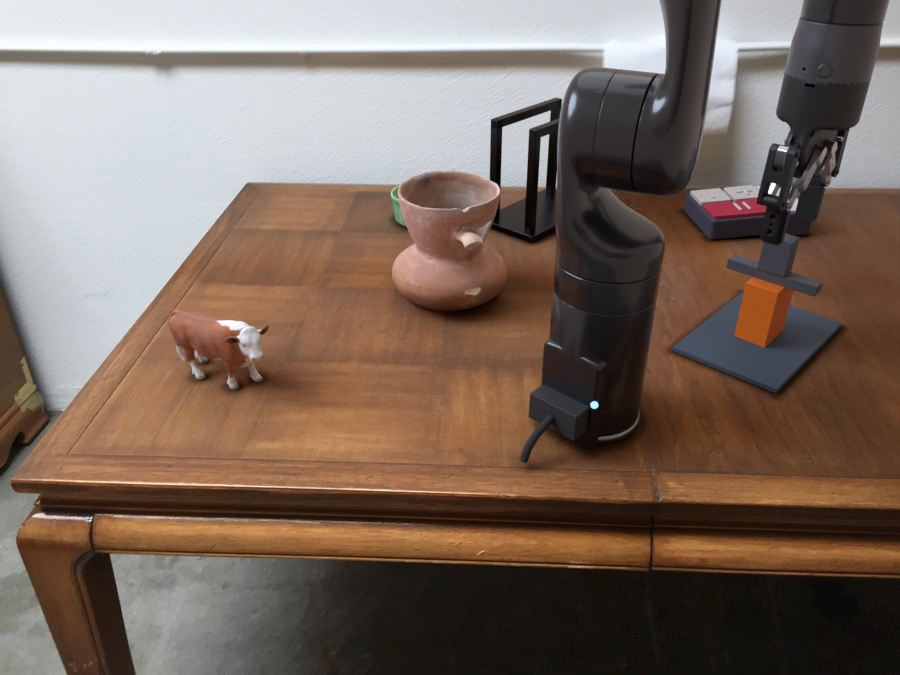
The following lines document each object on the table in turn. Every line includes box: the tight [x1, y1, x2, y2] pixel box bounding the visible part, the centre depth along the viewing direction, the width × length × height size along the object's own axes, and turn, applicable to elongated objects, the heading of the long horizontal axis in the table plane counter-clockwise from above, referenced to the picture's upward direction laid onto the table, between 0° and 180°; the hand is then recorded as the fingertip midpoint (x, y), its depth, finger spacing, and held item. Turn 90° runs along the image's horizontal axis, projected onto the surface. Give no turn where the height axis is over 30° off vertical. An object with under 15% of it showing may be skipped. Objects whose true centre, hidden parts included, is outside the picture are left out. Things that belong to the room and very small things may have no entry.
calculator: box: [683, 184, 812, 241], centre depth 115 cm, size 11×4×15 cm
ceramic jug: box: [391, 170, 508, 311], centre depth 95 cm, size 18×14×14 cm
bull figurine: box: [168, 308, 270, 391], centre depth 80 cm, size 4×13×8 cm, turn 58°
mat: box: [671, 290, 843, 395], centre depth 88 cm, size 18×12×1 cm, turn 137°
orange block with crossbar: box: [725, 233, 823, 348], centre depth 85 cm, size 5×10×12 cm, turn 47°
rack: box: [489, 97, 563, 244], centre depth 114 cm, size 17×10×16 cm, turn 137°
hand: (788, 230), depth 81 cm, fingers open, 8 cm apart
